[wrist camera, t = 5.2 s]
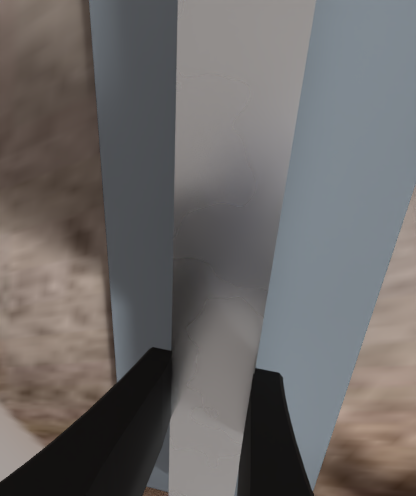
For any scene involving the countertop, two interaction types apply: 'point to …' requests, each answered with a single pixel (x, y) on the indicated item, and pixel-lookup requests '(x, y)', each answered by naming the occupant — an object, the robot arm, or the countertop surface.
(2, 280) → the countertop surface
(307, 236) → the slate mat
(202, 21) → the steel rail
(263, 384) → the robot arm
